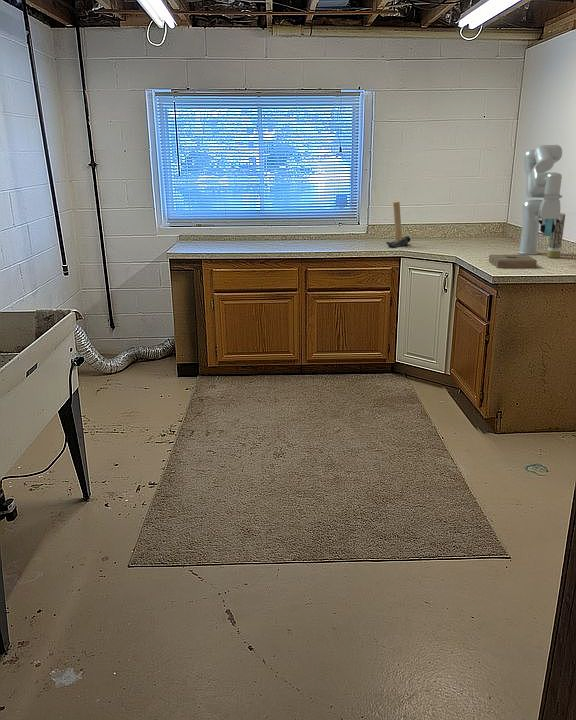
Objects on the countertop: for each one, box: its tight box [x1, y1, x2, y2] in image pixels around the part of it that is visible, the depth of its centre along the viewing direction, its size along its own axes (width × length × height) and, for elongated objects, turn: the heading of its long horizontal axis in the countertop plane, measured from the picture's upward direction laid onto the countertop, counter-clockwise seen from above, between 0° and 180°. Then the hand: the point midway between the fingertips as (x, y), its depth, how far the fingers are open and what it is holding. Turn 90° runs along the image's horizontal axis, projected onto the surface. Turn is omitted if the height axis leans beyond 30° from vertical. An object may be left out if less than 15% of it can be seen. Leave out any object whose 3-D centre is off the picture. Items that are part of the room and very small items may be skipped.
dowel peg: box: [542, 219, 553, 237], centre depth 321 cm, size 4×4×9 cm
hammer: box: [385, 200, 411, 248], centre depth 394 cm, size 20×5×30 cm, turn 133°
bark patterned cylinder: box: [546, 212, 566, 259], centre depth 343 cm, size 7×7×25 cm
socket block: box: [488, 254, 538, 269], centre depth 326 cm, size 20×20×4 cm
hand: (547, 232), depth 322 cm, fingers closed on dowel peg, 4 cm apart
